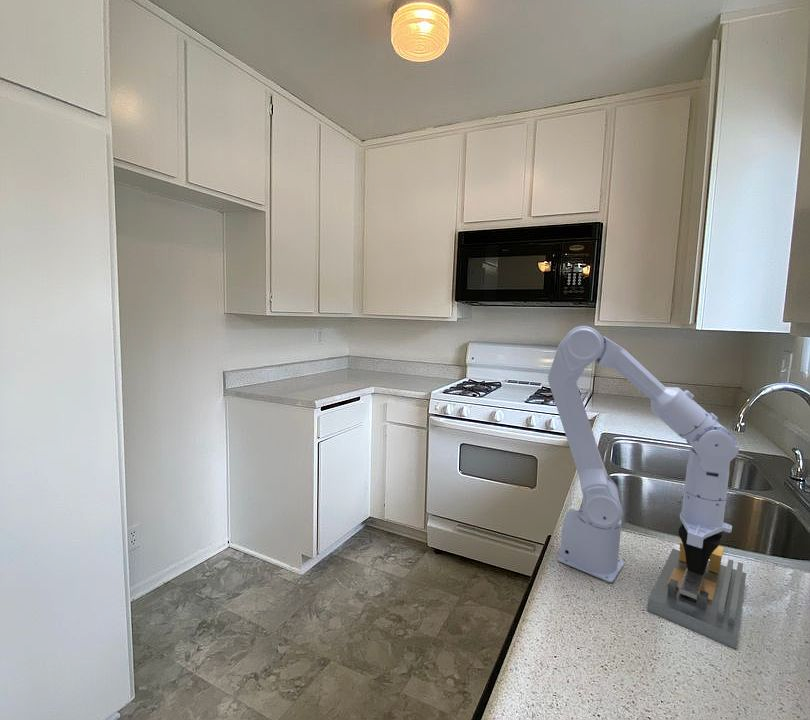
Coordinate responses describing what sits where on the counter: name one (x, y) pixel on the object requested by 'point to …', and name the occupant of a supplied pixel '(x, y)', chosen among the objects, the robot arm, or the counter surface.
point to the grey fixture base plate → (701, 600)
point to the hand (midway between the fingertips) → (695, 570)
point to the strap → (691, 584)
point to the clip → (714, 558)
